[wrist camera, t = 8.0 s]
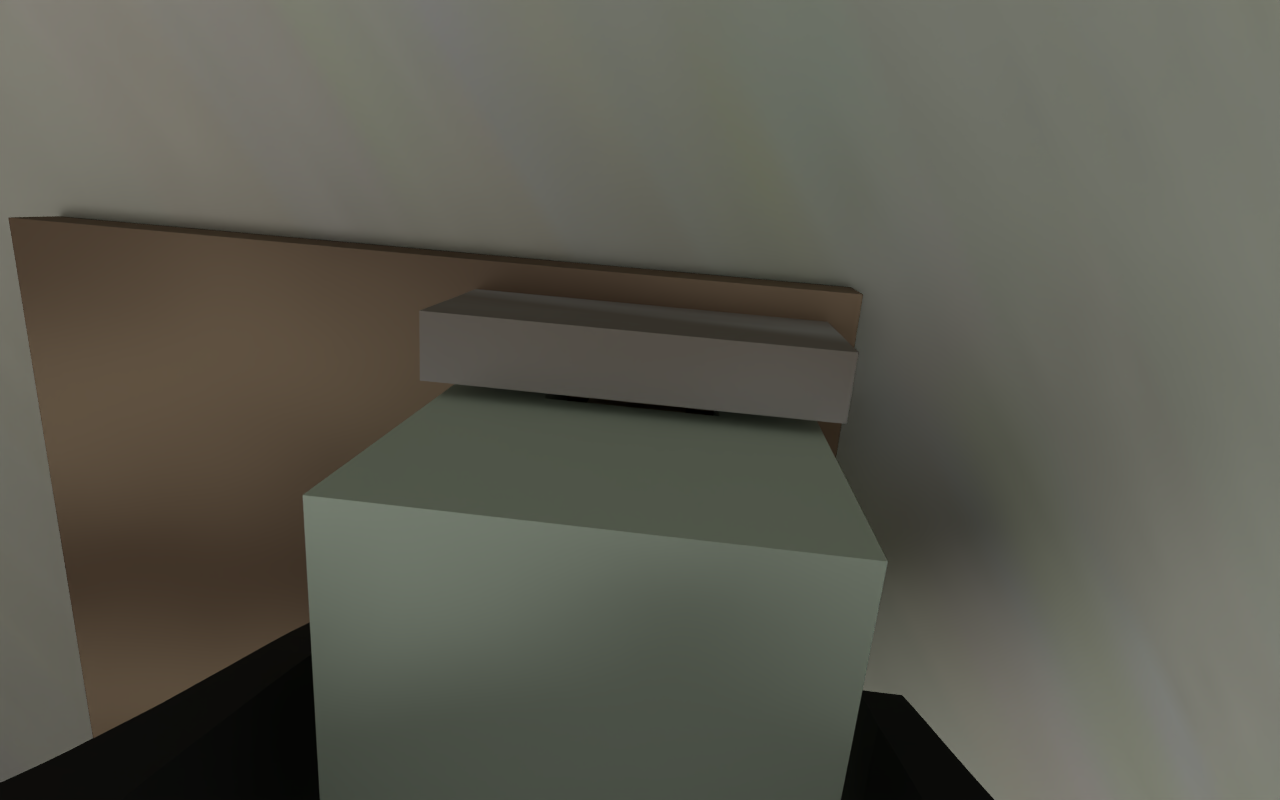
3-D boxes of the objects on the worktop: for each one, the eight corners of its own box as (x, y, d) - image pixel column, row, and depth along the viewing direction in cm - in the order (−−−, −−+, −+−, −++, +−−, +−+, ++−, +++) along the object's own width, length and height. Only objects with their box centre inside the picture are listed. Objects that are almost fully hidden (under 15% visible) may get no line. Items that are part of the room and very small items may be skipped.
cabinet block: (745, 769, 14) (771, 1149, 9) (479, 734, 15) (335, 1076, 9) (801, 390, 12) (888, 562, 6) (487, 359, 13) (302, 495, 7)
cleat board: (748, 923, 17) (759, 1104, 13) (146, 834, 18) (16, 982, 14) (850, 287, 13) (903, 318, 9) (57, 216, 14) (-156, 221, 10)
